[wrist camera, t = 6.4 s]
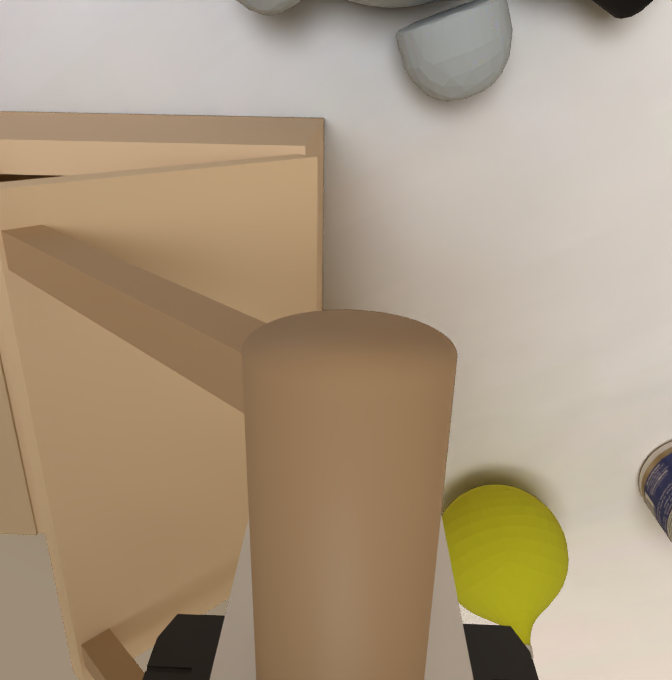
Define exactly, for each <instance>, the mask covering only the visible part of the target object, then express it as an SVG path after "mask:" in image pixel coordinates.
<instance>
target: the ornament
mask: <svg viewBox="0 0 672 680" xmlns="http://www.w3.org/2000/svg"><path fill="white" fill-rule="evenodd" d="M442 521H443V526H444V531H445V536H446V541H447V546H448V551H449V557H450V562H451V567H452V572H453V577H454V582H455V587H456V592H457V598H458V602H459V603H460V604H461V605H462V606H463V607H464V608H466V609H467V610H469V611H470V612H472V613H474V614H476V615H478V616H480V617H482V618H485V619H487V620H489V621H492V622H495V623H497V624H499V625H502V626H511V627H512V628H513V630H514V631H515V632H516V634H517V635H518V636H519V638H520V639H521V640H522V642H523V643H524V644H525V645H526V647H527V648H528V649H529V651H530V653H531V656H532V659H533V652H532V646H531V645H530V635H531V630H532V626H533V624H534V622H535V620H536V619H537V617H538V616H539V615H540V614H541V613H542V612H543V611H544V610H545V609H546V608H547V607H548V606H549V605H550V603H551V602H552V601H553V600H554V598H555V597H556V596H557V595H558V593H559V592H560V590H561V588H562V587H563V584H564V581H565V579H566V575H567V572H568V550H567V543H566V539H565V536H564V533H563V531H562V528H561V526H560V524H559V523H558V521H557V519H556V518H555V516H554V515H553V513H552V512H551V511H550V509H548V508H547V507H546V506H545V505H544V504H543V503H542V502H541V501H540V500H538V499H537V498H536V497H535V496H533V495H531V494H529V493H527V492H525V491H523V490H521V489H519V488H515V487H512V486H506V485H497V484H494V485H484V486H480V487H477V488H474V489H471V490H469V491H467V492H465V493H464V494H462V495H461V496H459V497H458V498H456V499H455V500H454V501H453V502H452V503H451V504H450V505H449V506H448V508H447V509H446V510H445V512H444V513H443V515H442Z"/></svg>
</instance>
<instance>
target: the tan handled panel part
mask: <svg viewBox="0 0 672 680" xmlns="http://www.w3.org/2000/svg"><path fill="white" fill-rule="evenodd" d="M317 161H318V157H315V156H309V155H302V154H293V155H283V156H272V157H261V158H251V159H240V160H230V161H219V162H208V163H198V164H187V165H176V166H166V167H155V168H145V169H134V170H123V171H113V172H102V173H92V174H81V175H70V176H60V177H49V178H39V179H28V180H17V181H7V182H0V315H1V320H2V325H3V330H4V335H5V339H6V344H7V349H8V354H9V359H10V364H11V369H12V374H13V379H14V384H15V388H16V393H17V398H18V403H19V408H20V413H21V418H22V423H23V428H24V433H25V437H26V442H27V447H28V452H29V457H30V462H31V467H32V472H33V477H34V482H35V486H36V491H37V496H38V501H39V506H40V511H41V516H42V521H43V526H44V531H45V535H46V540H47V545H48V550H49V555H50V560H51V565H52V570H53V575H54V580H55V584H56V589H57V594H58V599H59V604H60V609H61V613H62V619H63V624H64V629H65V633H66V638H67V643H68V648H69V653H70V658H71V663H72V668H73V671H74V673H75V674H76V676H77V677H78V679H79V680H142V679H143V676H144V672H143V671H142V669H141V668H140V667H139V665H138V664H137V663H136V662H135V660H134V658H135V657H137V656H138V655H140V654H141V653H143V652H145V651H146V650H148V649H149V648H151V647H152V646H154V645H155V642H156V640H157V637H158V636H159V635H160V634H161V633H162V631H163V630H164V629H165V628H166V627H167V626H168V624H169V623H170V622H171V621H172V620H173V618H174V617H175V616H176V615H177V614H194V615H203V614H204V613H206V612H207V611H209V610H211V609H212V608H214V607H215V606H217V605H218V604H220V603H221V602H223V601H225V600H226V599H228V598H229V597H230V593H231V589H232V585H233V581H234V577H235V573H236V568H237V564H238V560H239V556H240V552H241V548H242V544H243V539H244V535H245V531H246V527H247V523H248V519H249V529H250V551H251V574H252V596H253V618H254V640H255V663H256V680H424V676H425V667H426V657H427V647H428V637H429V628H430V618H431V608H432V598H433V589H434V579H435V569H436V559H437V550H438V540H439V530H440V520H441V511H442V501H443V491H444V481H445V471H446V462H447V452H448V442H449V432H450V423H451V413H452V403H453V393H454V384H455V374H456V364H457V351H456V348H455V346H454V345H453V343H452V342H451V341H450V340H449V339H448V338H447V337H446V336H445V335H444V334H442V333H441V332H439V331H438V330H436V329H434V328H432V327H430V326H428V325H426V324H423V323H421V322H418V321H416V320H412V319H409V318H406V317H402V316H398V315H393V314H388V313H382V312H374V311H364V310H322V311H317Z"/></svg>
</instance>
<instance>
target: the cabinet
mask: <svg viewBox="0 0 672 680" xmlns="http://www.w3.org/2000/svg"><path fill="white" fill-rule="evenodd" d="M293 154H302V155H309V156H315V157H318V161H317V311H322V285H323V183H324V118H300V117H252V116H204V115H156V114H108V113H60V112H12V111H0V182H7V181H17V180H28V179H39V178H49V177H60V176H70V175H81V174H92V173H102V172H113V171H123V170H134V169H145V168H155V167H166V166H176V165H187V164H198V163H208V162H219V161H230V160H240V159H251V158H261V157H272V156H283V155H293ZM38 533H45V531H44V526H43V521H42V516H41V511H40V506H39V501H38V496H37V491H36V486H35V482H34V477H33V472H32V467H31V462H30V457H29V452H28V447H27V442H26V437H25V433H24V428H23V423H22V418H21V413H20V408H19V403H18V398H17V393H16V388H15V384H14V379H13V374H12V369H11V364H10V359H9V354H8V349H7V344H6V339H5V335H4V330H3V325H2V320H1V315H0V534H19V535H37V534H38Z"/></svg>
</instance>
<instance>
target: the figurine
mask: <svg viewBox="0 0 672 680" xmlns="http://www.w3.org/2000/svg"><path fill="white" fill-rule="evenodd" d="M237 1H238V2H240V3H241V4H242V5H244V6H245V7H246V8H248V9H249V10H252V11H255V12H258V13H260V14H263V15H271V14H280V13H282V12H284V11H286V10H287V9H289V8H291V7H292V6H294V5H296V4H298V3H299V2H300V1H301V0H237ZM348 1H351V2H355V3H359V4H363V5H369V6H375V7H390V8H396V7H407V6H416V5H420V4H424V3H429V2H433V1H438V0H348ZM592 1H594V2H595V3H596V4H598V5H599V6H600V7H602V8H603V9H604V10H606V11H607V12H608V13H610V14H611V15H612V16H614V17H615V18H620V19H621V18H627V17H632V16H633V15H635V14H637V13H639V12H640V11H642V10H643V9H644V8H645V7H646V6H647V5H649V4H650V3H651V2H652V1H653V0H592ZM396 39H397V42H398V46H399V50H400V53H401V57H402V60H403V64H404V68H405V70H406V71H407V73H408V74H409V76H410V77H411V79H412V80H413V82H414V83H415V84H416V85H417V86H418V87H419V88H420V89H421V90H423V91H424V92H425V93H426V94H427V95H429V96H432V97H434V98H437V99H441V100H445V101H451V100H457V99H464V98H468V97H470V96H472V95H475V94H477V93H479V92H482V91H484V90H485V89H487V88H488V87H489V86H490V85H492V84H493V83H494V82H495V81H496V80H497V78H498V77H499V76H500V74H501V73H502V72H503V69H504V67H505V65H506V62H507V60H508V58H509V54H510V47H511V39H512V25H511V20H510V14H509V9H508V4H507V0H474V1H472V2H469V3H466V4H463V5H461V6H458V7H455V8H452V9H449V10H447V11H444V12H441V13H438V14H435V15H433V16H430V17H428V18H425V19H423V20H420V21H418V22H415V23H413V24H411V25H409V26H407V27H405V28H403V29H401V30H399V31H398V32H397V33H396Z"/></svg>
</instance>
